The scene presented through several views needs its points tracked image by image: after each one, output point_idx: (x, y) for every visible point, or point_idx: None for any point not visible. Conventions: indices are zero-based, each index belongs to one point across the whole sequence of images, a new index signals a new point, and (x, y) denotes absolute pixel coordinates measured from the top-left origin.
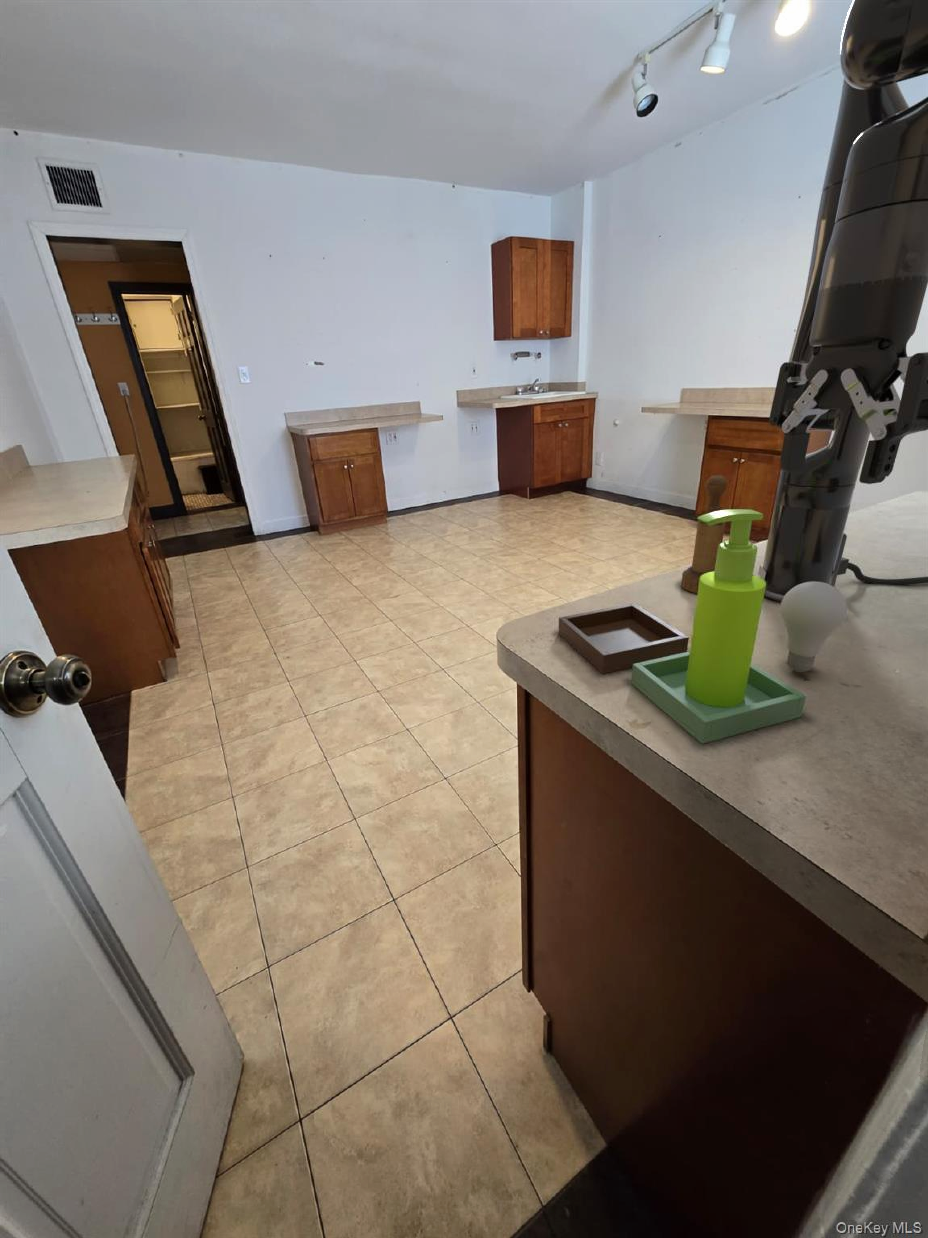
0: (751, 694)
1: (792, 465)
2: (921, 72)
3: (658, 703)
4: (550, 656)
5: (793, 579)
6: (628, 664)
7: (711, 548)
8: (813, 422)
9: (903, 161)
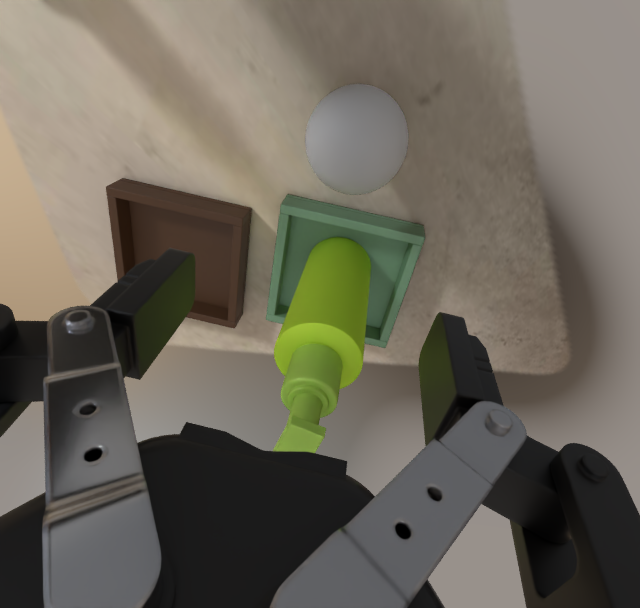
0: (367, 239)
1: (188, 298)
2: None
3: None
4: (183, 327)
5: None
6: (243, 289)
7: None
8: (113, 341)
9: None
